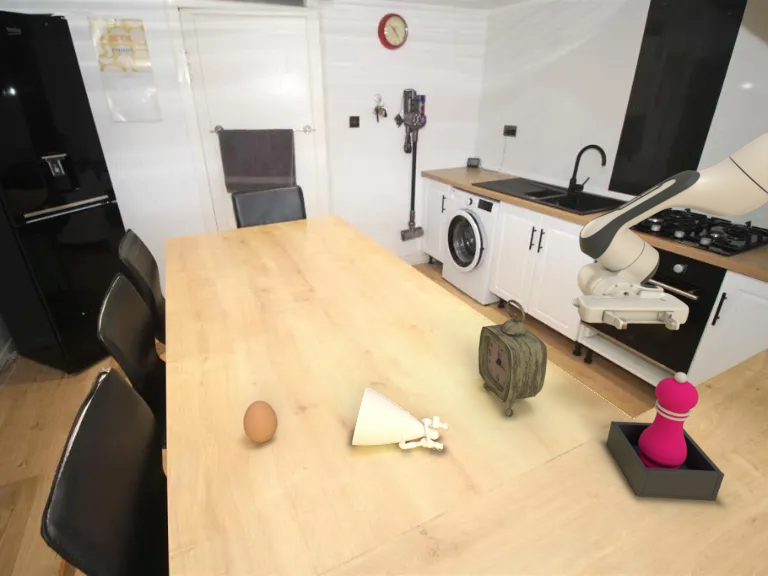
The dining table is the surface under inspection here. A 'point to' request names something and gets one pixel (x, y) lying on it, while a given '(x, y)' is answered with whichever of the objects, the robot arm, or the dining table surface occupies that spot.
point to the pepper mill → (668, 424)
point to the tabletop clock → (512, 360)
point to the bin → (684, 483)
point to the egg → (260, 421)
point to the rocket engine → (392, 424)
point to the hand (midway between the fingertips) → (649, 326)
